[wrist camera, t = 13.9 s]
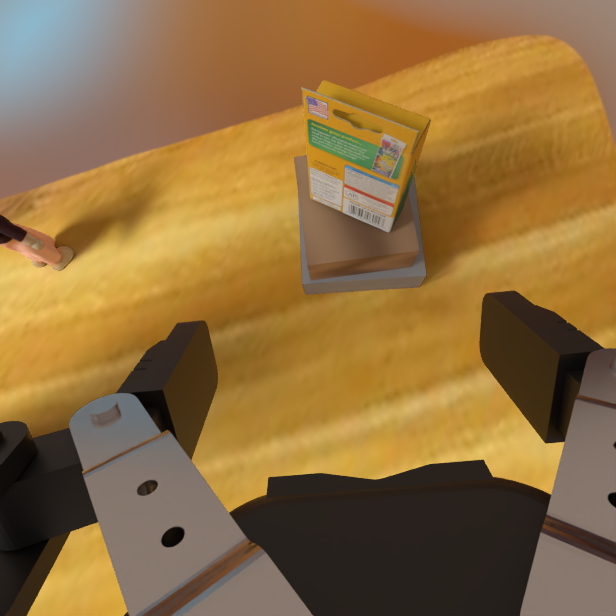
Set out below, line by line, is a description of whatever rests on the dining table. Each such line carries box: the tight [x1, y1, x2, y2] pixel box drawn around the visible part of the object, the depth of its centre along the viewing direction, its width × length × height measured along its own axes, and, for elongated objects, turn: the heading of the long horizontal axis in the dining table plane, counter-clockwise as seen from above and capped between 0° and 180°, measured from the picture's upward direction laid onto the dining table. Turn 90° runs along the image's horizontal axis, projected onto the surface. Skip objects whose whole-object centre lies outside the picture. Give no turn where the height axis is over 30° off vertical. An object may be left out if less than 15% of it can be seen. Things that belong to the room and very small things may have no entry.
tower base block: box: [298, 175, 426, 295], centre depth 39 cm, size 11×11×4 cm
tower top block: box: [294, 155, 419, 281], centre depth 36 cm, size 9×10×4 cm
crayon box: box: [302, 80, 431, 232], centre depth 28 cm, size 7×3×12 cm, turn 63°
